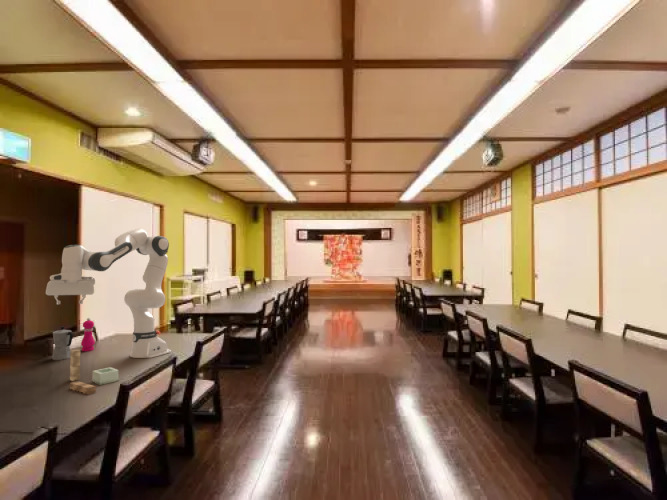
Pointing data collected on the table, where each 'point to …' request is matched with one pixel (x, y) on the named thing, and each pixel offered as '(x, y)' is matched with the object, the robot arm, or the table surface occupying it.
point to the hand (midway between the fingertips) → (69, 304)
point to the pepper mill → (88, 336)
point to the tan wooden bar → (83, 387)
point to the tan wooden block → (75, 365)
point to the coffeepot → (62, 344)
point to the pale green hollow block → (105, 376)
